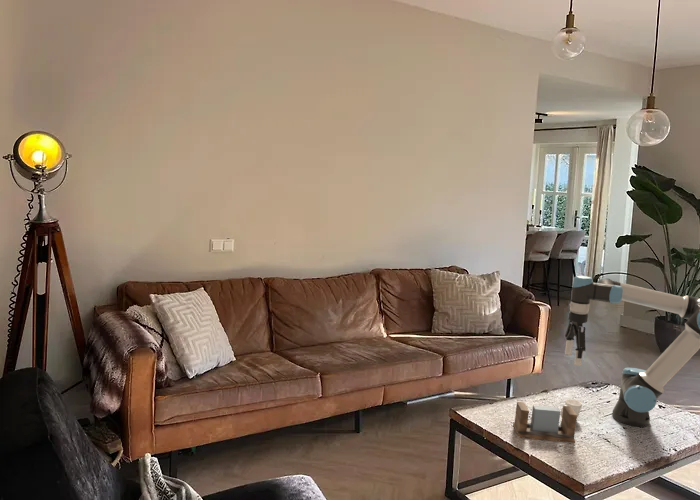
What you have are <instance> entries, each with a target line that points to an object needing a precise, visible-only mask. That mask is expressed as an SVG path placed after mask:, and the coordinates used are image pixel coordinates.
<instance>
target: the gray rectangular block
mask: <svg viewBox="0 0 700 500" xmlns="http://www.w3.org/2000/svg"><path fill="white" fill-rule="evenodd" d="M560 417H561V409H559V407H556V406H547V405H546V406H545V405H535V404H533V405H532V410H531V419H530V423H531V426H530V428H531V430H532V431H542V432H553V433H558V427H559V426H560V420H561V419H560Z"/></svg>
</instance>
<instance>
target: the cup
mask: <svg viewBox="0 0 700 500" xmlns="http://www.w3.org/2000/svg"><path fill="white" fill-rule="evenodd" d="M564 403H565V405H563V406H571V407H572V409H573V410H574V412H575V413H576V414H577V419H578V418H579V415H580V413H581V409H582V406H583V403H582V402H581V401H579V400H576V399H571V398H568V399H565V400H564ZM563 406H562V407H561V409H560V417H561V418H562V413H563ZM577 421H578V420H576V422H577Z"/></svg>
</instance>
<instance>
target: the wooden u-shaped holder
mask: <svg viewBox="0 0 700 500" xmlns="http://www.w3.org/2000/svg"><path fill="white" fill-rule="evenodd" d="M515 407H516V409H515V415H514V416H515V417H514V422H513V423H512V425H513V427H514V430H515V432H516V434H517V436H518V438H519V439H529V440H537V441H538V440H539V441H549V442H550V441H551V442H561V443H572V444H575V443H576V439H575V435H576V427H577V421H578V420H577V419H578V418H577V414H576V413H575V412H574V410H573V409H572V407H571V406H564V405H563V406H562V407H563V413H562V417H561V422H560V425H559V427H558V433H553V432H542V431H532V430H531V428H530V426H531V422H528V421H529V414H530V413H529V412H530V411H529V409H528V406H527V405H526V403H525V402H524V401H516V405H515ZM576 420H577V421H576Z"/></svg>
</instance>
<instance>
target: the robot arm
mask: <svg viewBox="0 0 700 500" xmlns="http://www.w3.org/2000/svg"><path fill="white" fill-rule="evenodd" d="M571 288H572V289H571V298H570V303H569V304H568V305H569V310H570V311H569V312H568V320H569V321H568V326H567V329H566V332H565V335H564V336H565V340H566V342H565V349H564V355H565V356H566V355H567V356H572V354H573V346H574V341H575V343H576V348H575V356H574V361H573V362H574V363H573V365H574V366H582V363H583V362H582V361H583V355H584V352H586V350H587V349H586V327H585V326H583V324H586V323H588V320H589V319H588V318H589V314H588V313H589V312H590V311H589V310H590V304H591V303H590V301H595V302H603V303H610V304H620V303H621V302H622V301H623V302H627V303H631V304H636V305H640V306H644V307H648V308H652V309H656V310H661V311H664V312H669V313H673V314H677V315H679V317H680V318H683V319H686V321H685V322H684V327H685V328H684V330H683V331H682V332H681V333H680V334H679V335H678V336H677V337H676V338H675V339H674V340H673V342H672V343H670V344H669V346H668V347H666V349H664V351H663V352H662V353H661V354H660V355H659V357H657V358H656V360H654V361H653V363H652V364H651V365H650V366H649V367H648V368H647V369H646V370H645V369H642V368H636V367H625V368H623V370H622V373H621V381H620V388H619V394H618V400H617V402H616V404H615V405H614V407H613V409H612V412H611V414H612V415H611V416H612V417H613V419H615V420H617V422H620V423H622V424H625V425H628V426H632V427H648V426H649V425H650V421H651V415H650V411H652V410H653V409H654V408H655V407H656V404H657V400H658V398H660V397H661V396H662V395H663V393H665V390H664V386H665V385H667V384H668V383H669V381H670V380H671V379H672V378H673V377H674V376H675V375H676V374H677V373H678V372H680V370H681V369H682V368H683V366H684V365H686V364H687V363H688V361H690V360H691V359H692V357H693V356H694V355H695V354H696V353H697V352H698V351H699V350H700V297H697V296H692V295H684V296H682V295H681V296H680V295H676V294H672V293H669V292H668V293H667V292H664V291H660V290H659V291H658V290H654V289H650V288H645V287H641V286H637V285H633V284H629V283H626V282H625V283H624V282H621V281H620V282H619V281H615V280H612V279H611V278H608V277H602V278H600V279H598V280H597V282H594V280H593V278H592V277H591V276H586V275H576V276H574V278H573V282H572V287H571Z"/></svg>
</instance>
